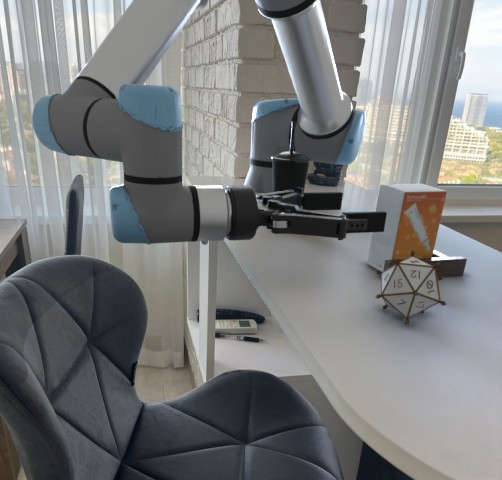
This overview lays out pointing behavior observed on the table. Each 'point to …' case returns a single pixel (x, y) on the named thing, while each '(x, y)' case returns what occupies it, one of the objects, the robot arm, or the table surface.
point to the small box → (406, 222)
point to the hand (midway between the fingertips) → (361, 210)
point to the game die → (410, 286)
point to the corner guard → (447, 264)
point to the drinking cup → (289, 168)
